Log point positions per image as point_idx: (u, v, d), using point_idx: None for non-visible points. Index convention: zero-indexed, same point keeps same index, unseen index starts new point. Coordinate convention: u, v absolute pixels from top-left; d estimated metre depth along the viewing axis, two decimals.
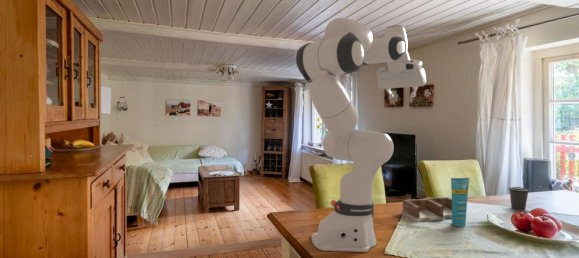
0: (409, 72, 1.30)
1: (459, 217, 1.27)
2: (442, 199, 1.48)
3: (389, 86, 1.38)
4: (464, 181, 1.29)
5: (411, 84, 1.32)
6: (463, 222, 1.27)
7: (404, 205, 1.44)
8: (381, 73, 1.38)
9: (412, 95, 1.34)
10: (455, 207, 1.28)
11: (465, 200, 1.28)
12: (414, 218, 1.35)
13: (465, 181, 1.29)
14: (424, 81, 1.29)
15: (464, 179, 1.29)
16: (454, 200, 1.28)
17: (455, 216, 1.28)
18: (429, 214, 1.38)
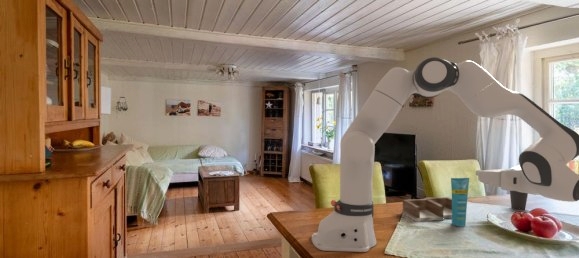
0: None
1: (459, 217, 1.27)
2: (442, 199, 1.48)
3: None
4: (464, 181, 1.29)
5: (490, 170, 1.10)
6: (463, 222, 1.27)
7: (404, 205, 1.44)
8: None
9: (479, 170, 1.15)
10: (455, 207, 1.28)
11: (465, 200, 1.28)
12: (414, 218, 1.35)
13: (465, 181, 1.29)
14: (480, 175, 1.08)
15: (464, 179, 1.29)
16: (454, 200, 1.28)
17: (455, 216, 1.28)
18: (429, 214, 1.38)
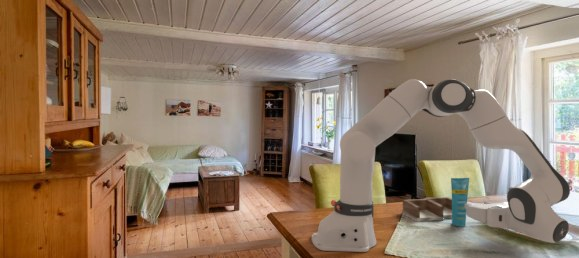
0: None
1: (459, 217, 1.27)
2: (442, 199, 1.48)
3: (498, 203, 1.18)
4: (464, 181, 1.29)
5: (478, 205, 1.15)
6: (463, 222, 1.27)
7: (404, 205, 1.44)
8: None
9: None
10: (455, 207, 1.28)
11: (465, 200, 1.28)
12: (414, 218, 1.35)
13: (465, 181, 1.29)
14: (468, 210, 1.13)
15: (464, 179, 1.29)
16: (454, 200, 1.28)
17: (455, 216, 1.28)
18: (429, 214, 1.38)
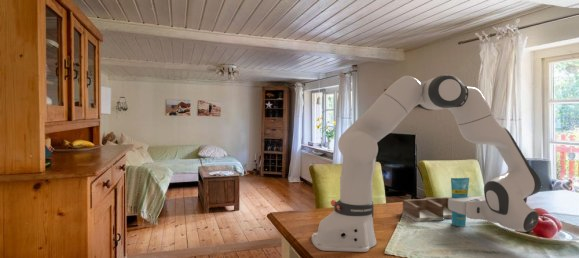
0: None
1: (459, 217, 1.27)
2: (442, 199, 1.48)
3: (478, 196, 1.26)
4: (464, 181, 1.29)
5: (459, 198, 1.23)
6: (463, 222, 1.27)
7: (404, 205, 1.44)
8: None
9: (452, 197, 1.28)
10: None
11: None
12: (414, 218, 1.35)
13: (465, 181, 1.29)
14: (450, 203, 1.21)
15: (464, 179, 1.29)
16: None
17: (455, 216, 1.28)
18: (429, 214, 1.38)
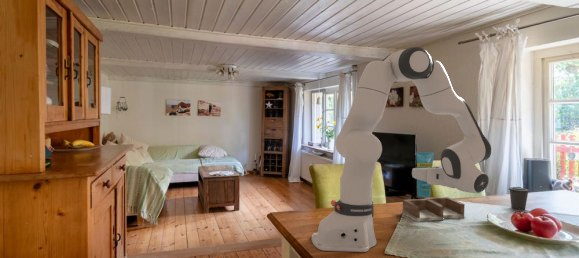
0: None
1: (423, 188, 1.37)
2: (442, 199, 1.48)
3: None
4: (429, 155, 1.38)
5: (422, 168, 1.33)
6: (427, 193, 1.37)
7: (404, 205, 1.44)
8: None
9: None
10: None
11: None
12: (414, 218, 1.35)
13: (430, 155, 1.38)
14: (413, 172, 1.31)
15: (429, 153, 1.38)
16: None
17: (419, 187, 1.38)
18: (429, 214, 1.38)
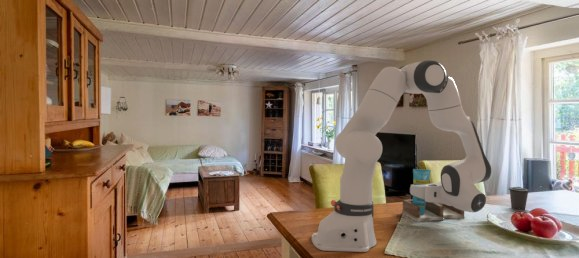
0: None
1: (417, 205, 1.38)
2: None
3: None
4: (425, 173, 1.39)
5: None
6: (421, 210, 1.38)
7: (404, 205, 1.44)
8: None
9: (413, 184, 1.38)
10: (415, 196, 1.39)
11: None
12: (414, 218, 1.35)
13: (426, 173, 1.39)
14: (411, 189, 1.32)
15: (425, 170, 1.39)
16: None
17: None
18: (429, 214, 1.38)
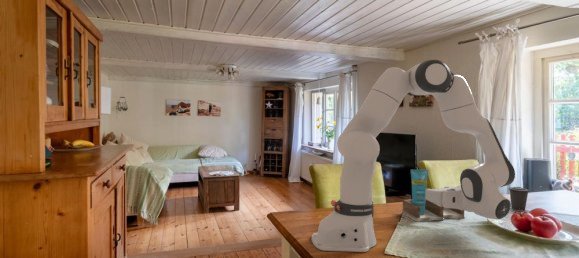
0: None
1: None
2: None
3: None
4: (423, 173, 1.39)
5: (436, 189, 1.25)
6: (421, 211, 1.37)
7: (404, 205, 1.44)
8: None
9: (428, 188, 1.30)
10: (414, 197, 1.38)
11: (424, 191, 1.38)
12: (414, 218, 1.35)
13: (424, 173, 1.39)
14: (427, 193, 1.23)
15: (423, 170, 1.39)
16: (413, 190, 1.39)
17: None
18: (429, 214, 1.38)
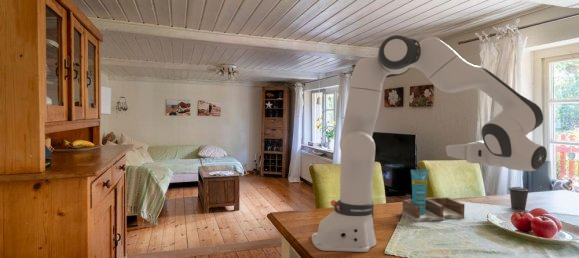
0: None
1: None
2: (442, 199, 1.48)
3: None
4: (423, 173, 1.39)
5: None
6: (421, 211, 1.37)
7: (404, 205, 1.44)
8: None
9: None
10: (414, 197, 1.38)
11: (424, 191, 1.38)
12: (414, 218, 1.35)
13: (424, 173, 1.39)
14: (448, 149, 1.10)
15: (423, 170, 1.39)
16: (413, 190, 1.39)
17: None
18: (429, 214, 1.38)
